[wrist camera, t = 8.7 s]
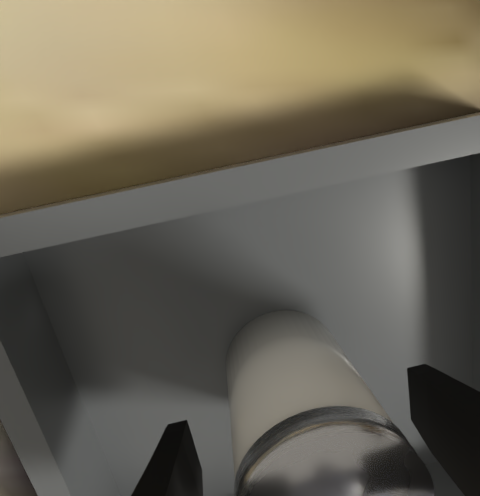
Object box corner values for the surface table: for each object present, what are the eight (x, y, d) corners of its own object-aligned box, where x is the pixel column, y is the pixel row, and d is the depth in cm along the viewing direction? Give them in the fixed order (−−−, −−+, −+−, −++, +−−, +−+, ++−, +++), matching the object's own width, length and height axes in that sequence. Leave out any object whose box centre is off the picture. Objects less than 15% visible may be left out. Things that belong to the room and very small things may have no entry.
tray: (486, 454, 16) (545, 518, 13) (123, 543, 16) (104, 630, 13) (485, 110, 12) (574, 94, 9) (-14, 217, 11) (-90, 237, 8)
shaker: (343, 395, 14) (438, 561, 8) (237, 421, 14) (257, 608, 8) (329, 297, 13) (429, 411, 7) (213, 324, 13) (215, 463, 7)
